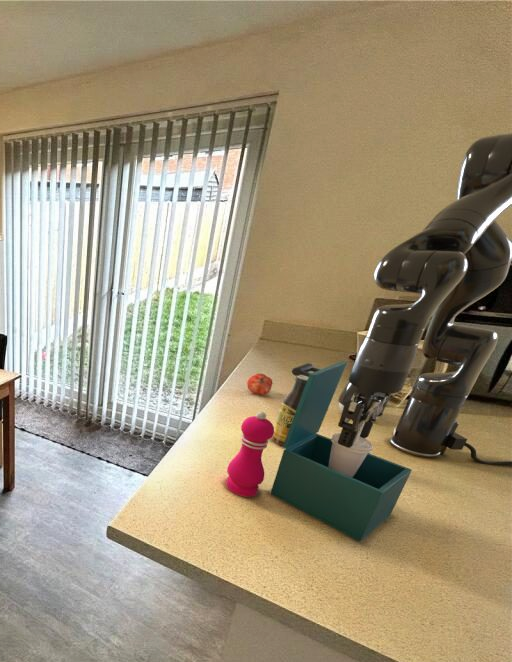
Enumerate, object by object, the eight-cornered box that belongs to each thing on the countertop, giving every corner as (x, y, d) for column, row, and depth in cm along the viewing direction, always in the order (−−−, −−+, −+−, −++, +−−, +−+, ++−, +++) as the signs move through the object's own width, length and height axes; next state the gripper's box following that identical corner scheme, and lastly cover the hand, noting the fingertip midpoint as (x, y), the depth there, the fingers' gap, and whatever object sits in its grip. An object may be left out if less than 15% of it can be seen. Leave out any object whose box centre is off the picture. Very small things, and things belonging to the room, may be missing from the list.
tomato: (242, 393, 143) (243, 385, 135) (251, 375, 143) (252, 366, 135) (265, 401, 139) (268, 393, 130) (274, 382, 139) (277, 373, 131)
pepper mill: (255, 481, 93) (276, 406, 85) (262, 501, 87) (287, 422, 79) (221, 476, 95) (239, 402, 87) (226, 494, 89) (246, 417, 81)
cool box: (389, 516, 81) (412, 469, 77) (360, 542, 75) (382, 492, 71) (301, 475, 95) (315, 433, 90) (270, 494, 89) (283, 449, 84)
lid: (347, 362, 82) (317, 353, 87) (314, 375, 76) (283, 365, 80) (318, 432, 90) (292, 421, 94) (286, 449, 84) (259, 436, 88)
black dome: (341, 419, 119) (358, 373, 113) (329, 405, 128) (344, 362, 122) (383, 425, 115) (403, 378, 109) (368, 410, 124) (386, 365, 118)
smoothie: (364, 491, 79) (390, 431, 73) (328, 487, 80) (350, 428, 75) (345, 472, 85) (368, 415, 79) (312, 469, 86) (332, 413, 80)
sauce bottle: (264, 437, 111) (283, 372, 103) (285, 435, 111) (305, 371, 104) (281, 449, 105) (303, 381, 97) (303, 448, 105) (326, 380, 98)
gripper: (392, 377, 66) (358, 460, 73) (425, 361, 72) (391, 439, 79) (339, 364, 72) (313, 442, 79) (374, 350, 78) (346, 423, 85)
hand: (352, 440), depth 79 cm, fingers closed on smoothie, 6 cm apart
